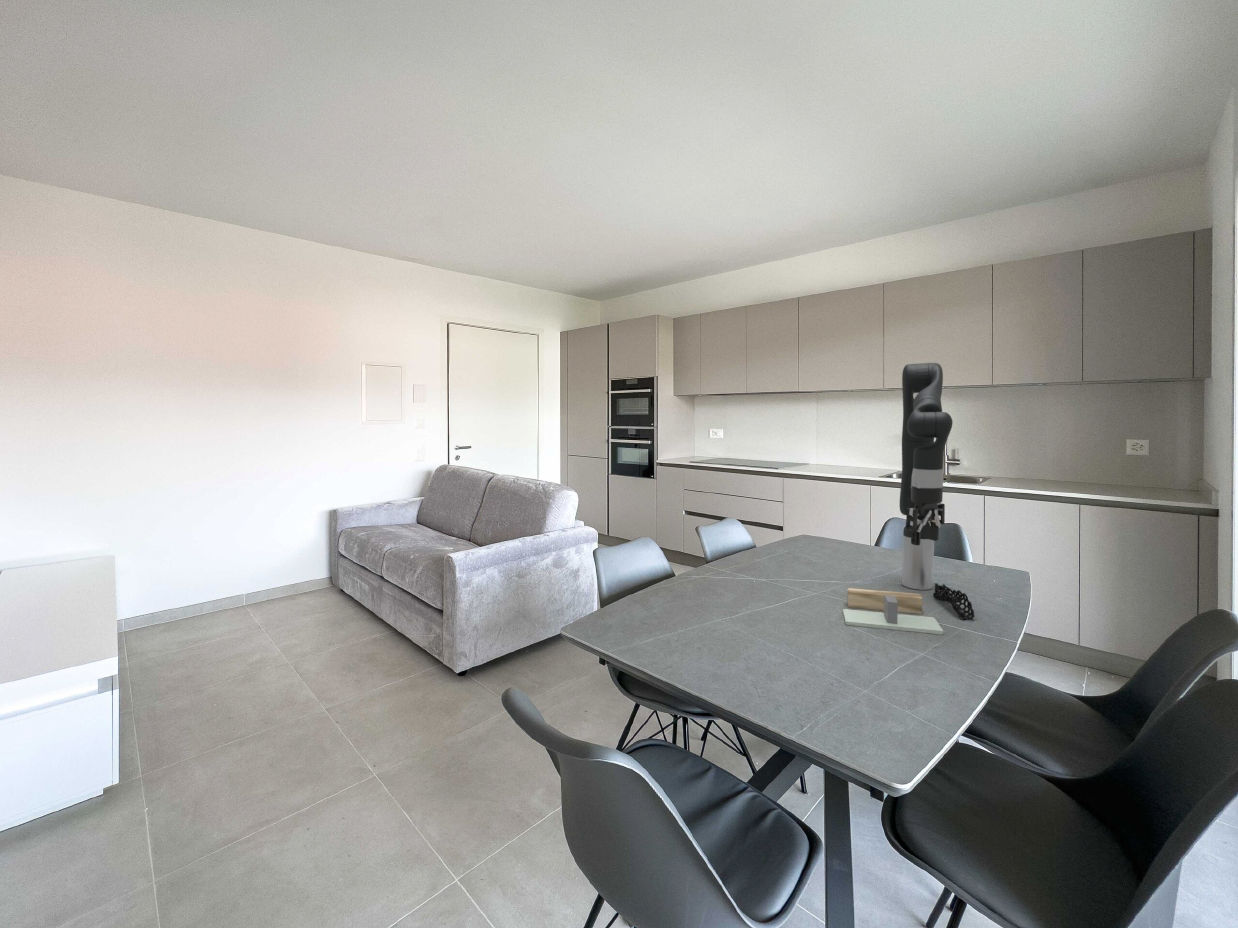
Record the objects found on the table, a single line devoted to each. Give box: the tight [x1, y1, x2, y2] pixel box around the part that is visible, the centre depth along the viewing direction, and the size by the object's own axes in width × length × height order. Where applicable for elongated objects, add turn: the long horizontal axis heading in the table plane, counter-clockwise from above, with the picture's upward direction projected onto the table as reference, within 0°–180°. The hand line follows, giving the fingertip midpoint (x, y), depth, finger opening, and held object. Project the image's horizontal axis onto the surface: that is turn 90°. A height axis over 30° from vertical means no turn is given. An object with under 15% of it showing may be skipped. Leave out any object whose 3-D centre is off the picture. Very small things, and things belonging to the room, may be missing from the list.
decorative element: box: [932, 582, 976, 621], centre depth 162 cm, size 22×5×6 cm, turn 170°
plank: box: [846, 587, 924, 615], centre depth 162 cm, size 4×20×5 cm, turn 72°
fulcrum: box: [842, 595, 944, 636], centre depth 151 cm, size 10×24×7 cm, turn 72°
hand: (924, 542), depth 149 cm, fingers open, 8 cm apart
